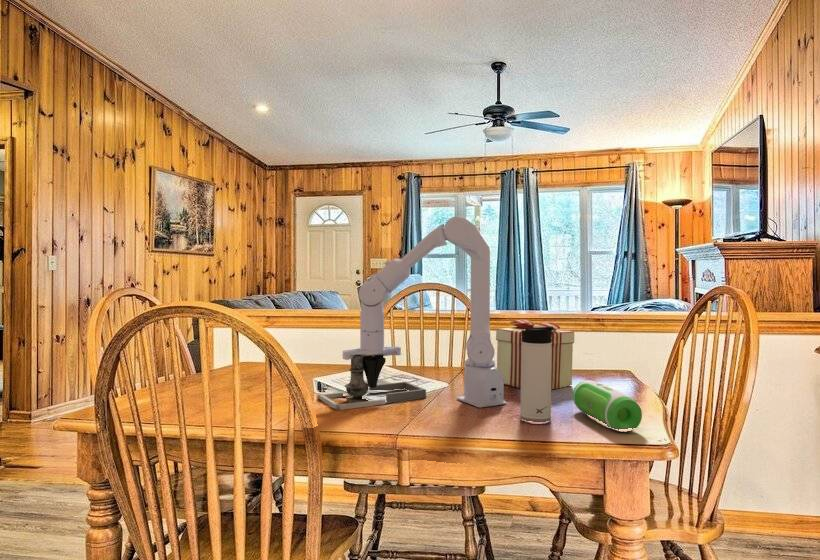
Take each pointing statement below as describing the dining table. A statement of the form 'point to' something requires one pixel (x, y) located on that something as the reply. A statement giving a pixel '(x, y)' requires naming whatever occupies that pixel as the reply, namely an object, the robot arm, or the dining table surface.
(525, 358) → the travel mug
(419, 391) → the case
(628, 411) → the speaker
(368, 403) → the gray square frame
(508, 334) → the gift box
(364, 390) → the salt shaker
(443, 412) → the dining table surface
